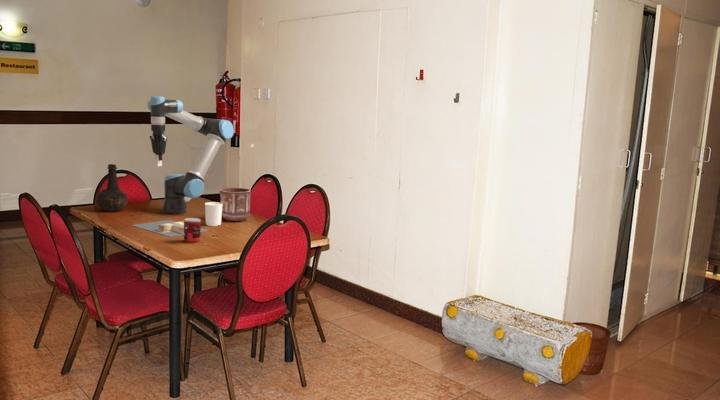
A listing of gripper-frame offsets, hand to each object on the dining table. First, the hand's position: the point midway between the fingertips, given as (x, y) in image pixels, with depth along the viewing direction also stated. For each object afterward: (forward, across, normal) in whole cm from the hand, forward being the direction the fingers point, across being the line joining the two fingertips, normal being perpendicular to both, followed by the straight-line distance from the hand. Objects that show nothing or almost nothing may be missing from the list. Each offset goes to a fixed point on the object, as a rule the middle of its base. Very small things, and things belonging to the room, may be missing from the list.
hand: (159, 166), depth 346 cm
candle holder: (+31, +31, +12) cm, 46 cm away
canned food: (+30, +54, -22) cm, 66 cm away
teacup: (+32, -37, +47) cm, 68 cm away
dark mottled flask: (+31, -39, -5) cm, 50 cm away
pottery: (+32, +29, +30) cm, 53 cm away
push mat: (+30, +23, -11) cm, 40 cm away
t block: (+30, +32, -12) cm, 46 cm away
